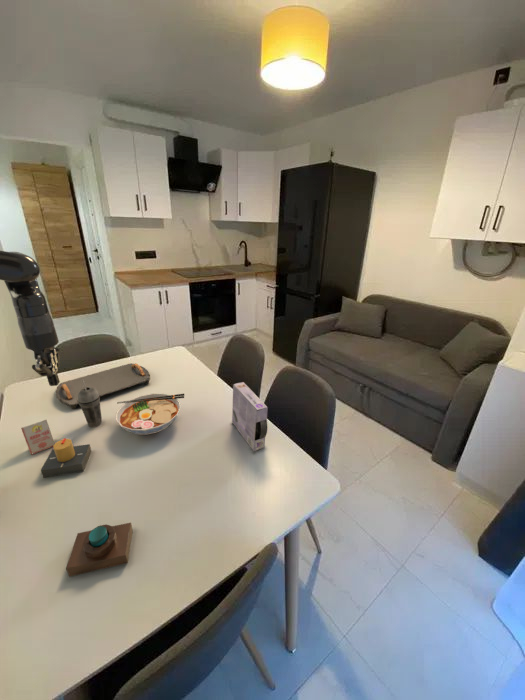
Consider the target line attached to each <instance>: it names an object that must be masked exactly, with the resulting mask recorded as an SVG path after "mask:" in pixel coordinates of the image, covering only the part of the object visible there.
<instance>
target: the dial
mask: <svg viewBox="0 0 525 700" xmlns="http://www.w3.org/2000/svg"><path fill="white" fill-rule="evenodd" d="M54 443H55V444H54V446H53V447H52V448H53V449H54V451H55V454H56V457H57V460H58V461H59V462H65V461H68V460H70V459H72V458H73V457H74V456H75V451H74V447H73V446H74V444H73V441H72V439H70V438H63V439H60V440H58V441H57V442H54Z"/></svg>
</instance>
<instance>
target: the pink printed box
mask: <svg viewBox="0 0 525 700" xmlns="http://www.w3.org/2000/svg"><path fill="white" fill-rule="evenodd" d="M20 430H21V432H22V434H23V438H24V440H25V444H26V446H27V448H28V451H29V453H30V455H31V456H32V455H35V454H37V453H40V452H43V451H45V450H47V449H51V448H53V446H54V444H55V443H56V442H55V440H54V437H53V434H52V432H51V428H50V426H49V423H48V420H47V419H43V420H40V421H37V422H33V423H32V424H28V425H25V426H22V427H21V429H20ZM32 453H33V454H32Z"/></svg>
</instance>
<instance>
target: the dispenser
mask: <svg viewBox="0 0 525 700" xmlns="http://www.w3.org/2000/svg"><path fill="white" fill-rule="evenodd" d="M99 526H104V527H105V528H106V530H107V533H108V539H107V541H106V542H105V543H104V544H103V545H101V546H99V547H93V546H91V543H90V540H89V534H90V533H91V531H92V530H93V529H95V528H96V527H94V528H93V529H91V530H87V531H82V532H78V533H76V536H75V540H74V542H73V547H72V548H71V553H70V555H69V558H68V561H67V564H66V568H65V569H66V572H67V575H68V577H69V578H70V577H74V576H78V575H82V574H86V573H91V572H96V571H100V570H103V569H104V570H105V569H107V568H112V567H116V566H120V565H121V566H122V565H125V564H128V563H129V558H130V551H131V545H132V539H133V538H132V537H133V532H134V529H133V525H132V522H127V523H121V524H117V525H109V524H102V525H101V524H100V525H98V526H97V527H99Z"/></svg>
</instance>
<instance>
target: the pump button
mask: <svg viewBox="0 0 525 700" xmlns="http://www.w3.org/2000/svg"><path fill="white" fill-rule="evenodd" d="M98 526H99V527H98ZM98 526H96V527H94V528H95V529H94V528H93V529H91V530H92V531H91V530H90V531H91V533H90V534H89V540H90V543H91V546H93V547H99V546H101V545H103V544H104V543H105V542H106V541H107V539H108V533H107V530H106V528H105V527H104V526H101V525H98Z"/></svg>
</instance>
